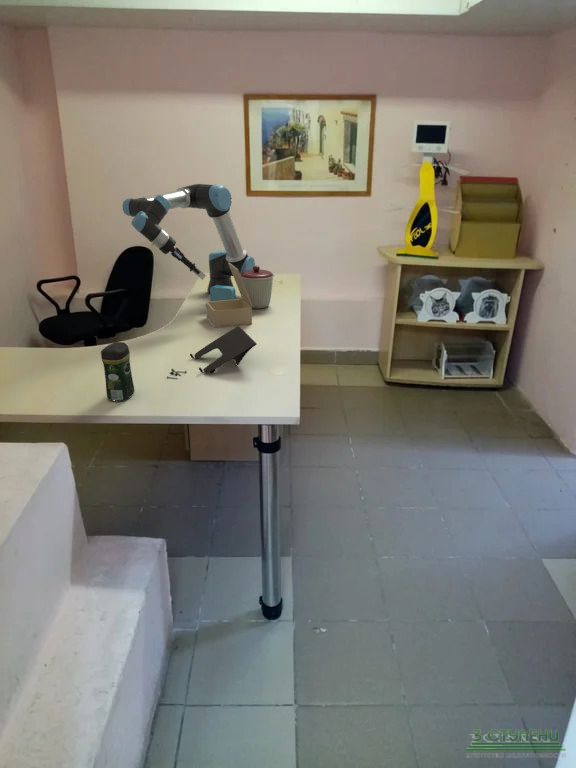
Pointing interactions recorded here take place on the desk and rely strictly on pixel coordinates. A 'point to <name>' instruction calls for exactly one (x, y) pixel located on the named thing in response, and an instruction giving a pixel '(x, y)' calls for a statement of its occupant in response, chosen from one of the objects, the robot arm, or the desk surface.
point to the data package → (222, 293)
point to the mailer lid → (240, 283)
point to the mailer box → (229, 313)
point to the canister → (258, 286)
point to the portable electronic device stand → (227, 348)
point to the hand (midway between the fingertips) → (203, 277)
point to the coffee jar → (117, 371)
